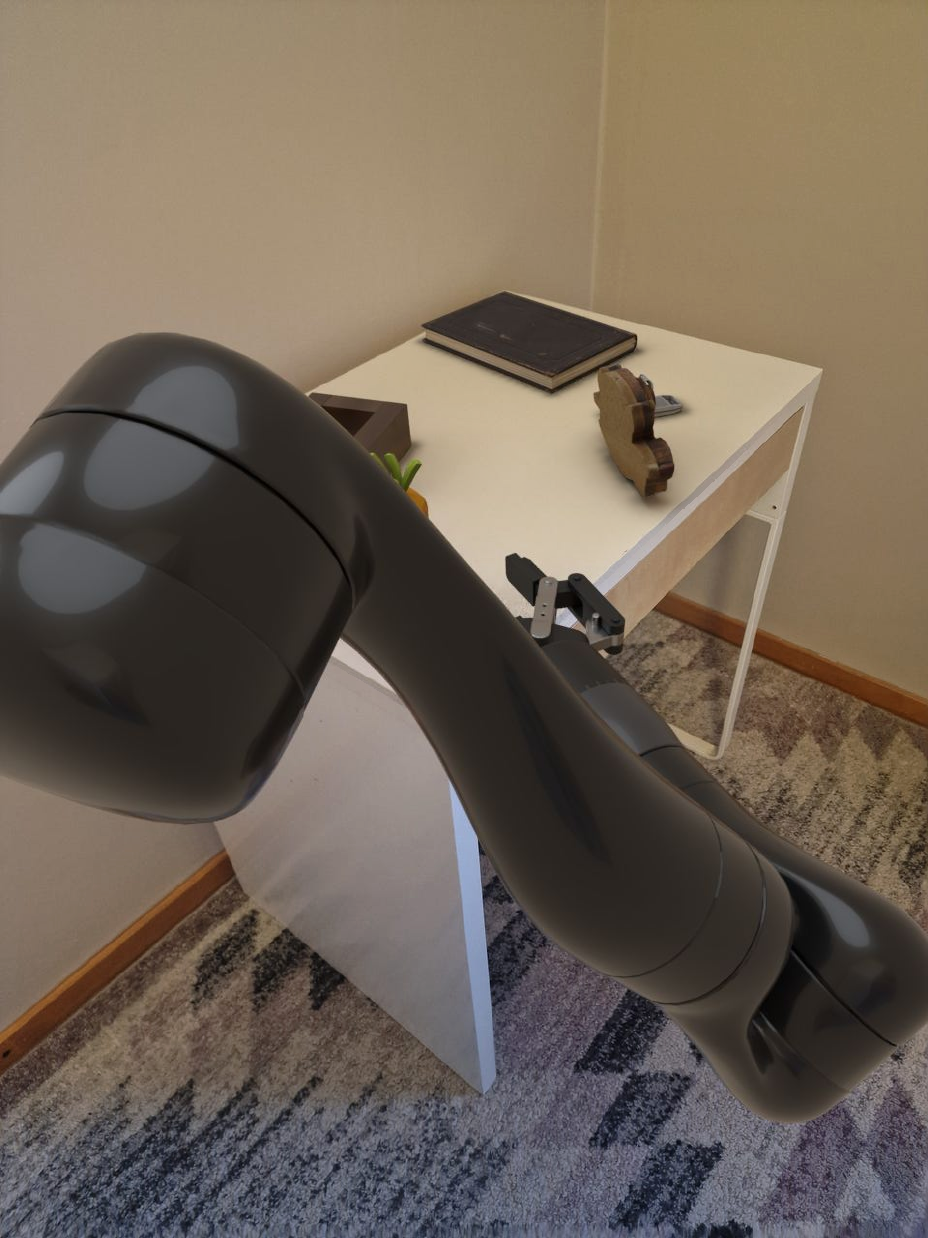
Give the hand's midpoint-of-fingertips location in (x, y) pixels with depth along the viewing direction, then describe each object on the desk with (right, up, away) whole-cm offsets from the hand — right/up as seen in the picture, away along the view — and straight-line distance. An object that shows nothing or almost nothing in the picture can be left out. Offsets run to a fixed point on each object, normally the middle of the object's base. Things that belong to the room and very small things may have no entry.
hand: (455, 584), depth 59 cm
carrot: (-4, -2, +13) cm, 14 cm away
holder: (-12, +14, +31) cm, 36 cm away
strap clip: (+20, +20, +37) cm, 47 cm away
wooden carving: (+17, +13, +28) cm, 35 cm away
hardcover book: (+9, +33, +52) cm, 62 cm away
